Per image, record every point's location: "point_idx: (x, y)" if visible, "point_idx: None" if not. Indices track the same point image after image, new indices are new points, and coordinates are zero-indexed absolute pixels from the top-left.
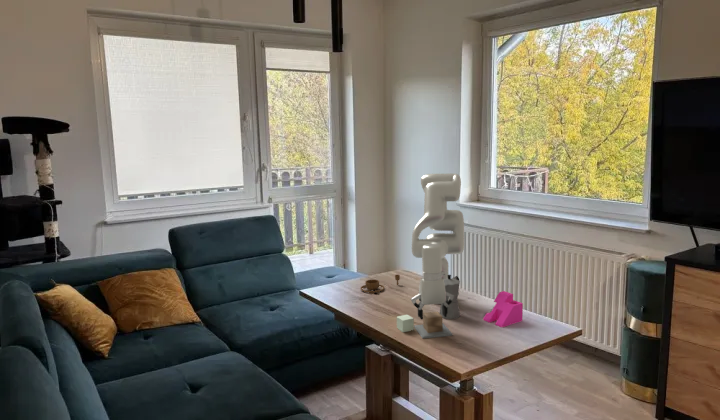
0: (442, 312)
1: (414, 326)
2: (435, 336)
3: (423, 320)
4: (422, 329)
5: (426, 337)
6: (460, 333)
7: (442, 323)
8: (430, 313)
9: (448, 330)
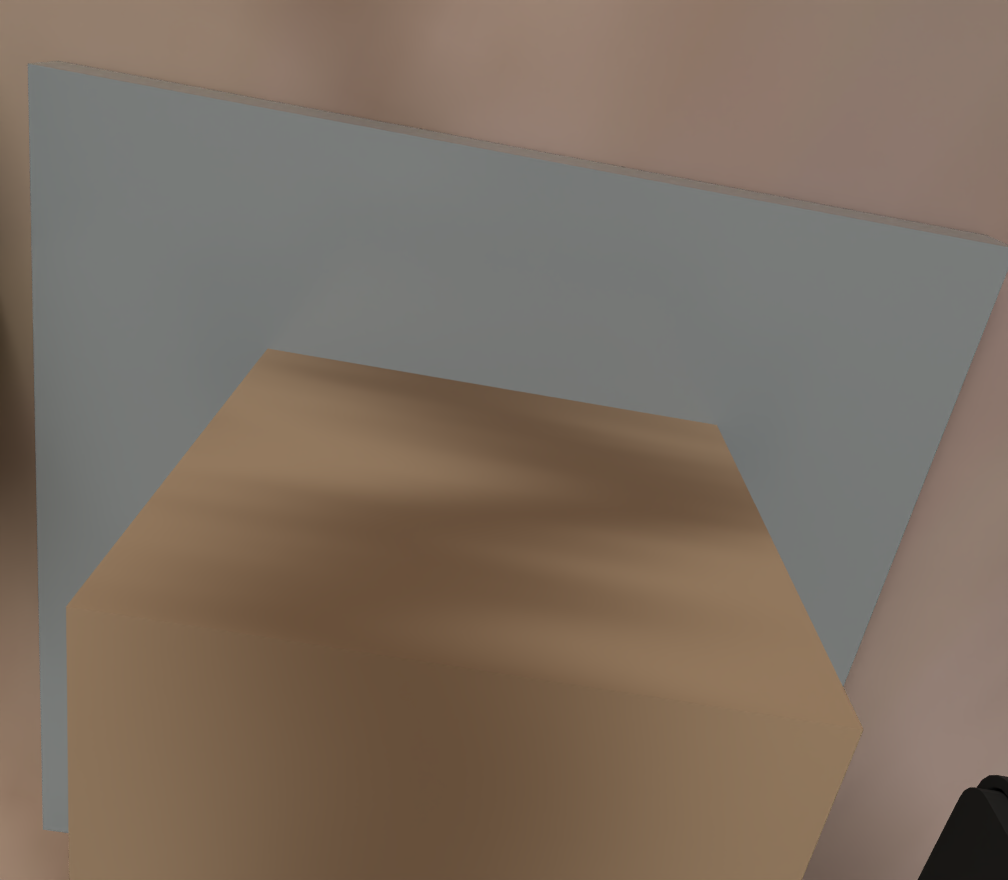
0: (1002, 867)
1: (42, 102)
2: None
3: (197, 458)
4: None
5: None
6: None
7: (960, 317)
8: (401, 794)
9: None
